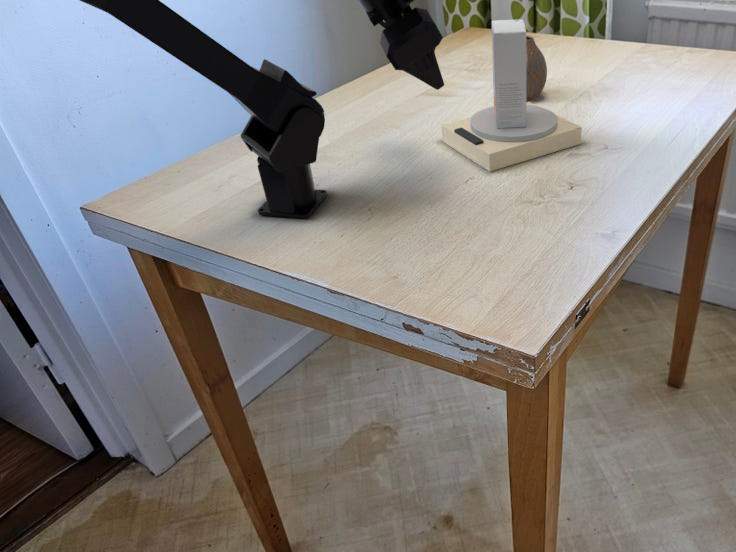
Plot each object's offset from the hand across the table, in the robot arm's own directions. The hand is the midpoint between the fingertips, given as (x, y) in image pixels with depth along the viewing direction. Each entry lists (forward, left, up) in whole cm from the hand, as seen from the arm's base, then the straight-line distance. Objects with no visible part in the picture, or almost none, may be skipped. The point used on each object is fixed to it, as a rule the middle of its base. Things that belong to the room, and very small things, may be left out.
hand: (430, 68), depth 83 cm
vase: (+25, -8, -12) cm, 29 cm away
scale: (+6, -9, -11) cm, 16 cm away
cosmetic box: (+6, -9, -8) cm, 14 cm away
